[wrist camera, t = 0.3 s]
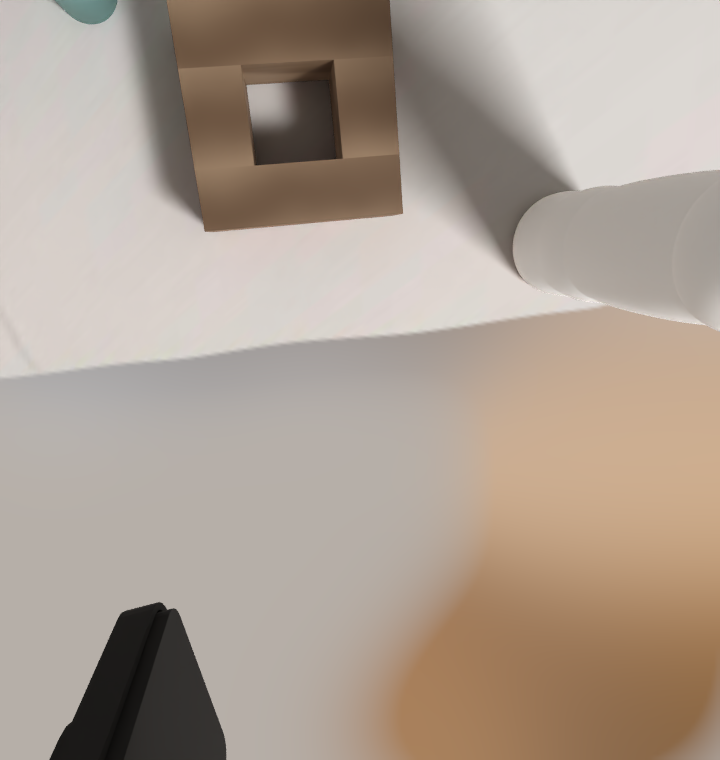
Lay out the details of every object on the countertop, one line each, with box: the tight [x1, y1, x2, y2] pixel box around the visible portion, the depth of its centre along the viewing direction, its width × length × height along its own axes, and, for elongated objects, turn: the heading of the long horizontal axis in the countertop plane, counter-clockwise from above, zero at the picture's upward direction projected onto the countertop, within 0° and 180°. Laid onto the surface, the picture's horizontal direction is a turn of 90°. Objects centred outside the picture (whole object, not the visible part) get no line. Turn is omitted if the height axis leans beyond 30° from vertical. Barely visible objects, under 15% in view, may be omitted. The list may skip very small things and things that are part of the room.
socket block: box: [167, 0, 403, 232], centre depth 32 cm, size 12×12×4 cm
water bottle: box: [513, 170, 720, 331], centre depth 26 cm, size 7×7×25 cm
